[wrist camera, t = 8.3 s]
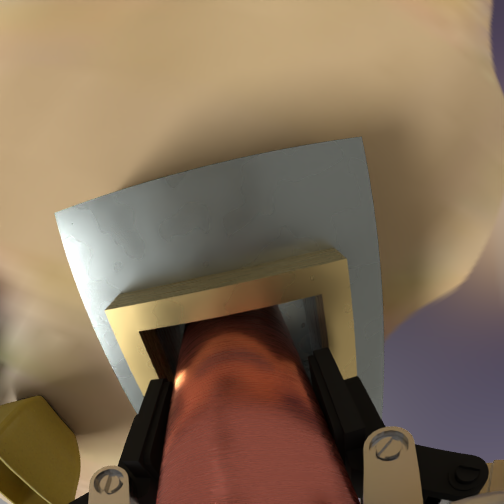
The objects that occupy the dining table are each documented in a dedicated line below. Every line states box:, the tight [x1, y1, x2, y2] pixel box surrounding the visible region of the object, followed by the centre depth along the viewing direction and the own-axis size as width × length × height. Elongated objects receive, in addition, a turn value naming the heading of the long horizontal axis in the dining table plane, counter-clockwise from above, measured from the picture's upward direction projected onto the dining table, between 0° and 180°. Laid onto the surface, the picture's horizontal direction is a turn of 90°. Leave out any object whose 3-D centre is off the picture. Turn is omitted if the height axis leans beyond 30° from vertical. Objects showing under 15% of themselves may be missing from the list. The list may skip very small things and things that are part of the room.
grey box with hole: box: [55, 137, 384, 419], centre depth 15 cm, size 16×12×8 cm
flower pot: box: [0, 396, 80, 504], centre depth 16 cm, size 9×9×9 cm
